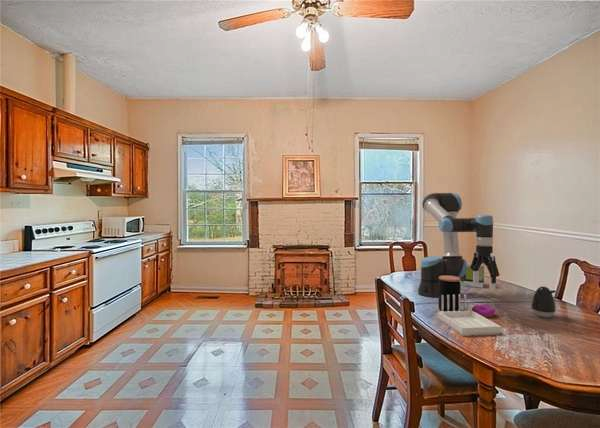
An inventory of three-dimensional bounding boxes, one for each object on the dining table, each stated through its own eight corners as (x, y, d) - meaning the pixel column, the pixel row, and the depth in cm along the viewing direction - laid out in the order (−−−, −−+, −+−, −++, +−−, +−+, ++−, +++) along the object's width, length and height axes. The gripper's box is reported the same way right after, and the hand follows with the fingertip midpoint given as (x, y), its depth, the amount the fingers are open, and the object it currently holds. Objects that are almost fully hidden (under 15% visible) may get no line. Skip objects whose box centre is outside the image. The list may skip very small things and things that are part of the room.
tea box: (484, 285, 237) (484, 264, 236) (482, 288, 228) (483, 266, 228) (460, 282, 245) (460, 262, 244) (458, 285, 236) (458, 264, 236)
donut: (468, 314, 177) (468, 306, 177) (478, 310, 183) (478, 302, 183) (489, 320, 169) (489, 311, 169) (498, 315, 175) (498, 307, 175)
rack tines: (437, 317, 173) (437, 294, 173) (467, 316, 175) (468, 293, 174) (439, 318, 171) (439, 295, 171) (470, 317, 173) (470, 294, 172)
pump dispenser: (549, 320, 167) (549, 290, 166) (526, 314, 176) (527, 285, 175) (560, 317, 172) (561, 287, 171) (538, 311, 181) (538, 283, 180)
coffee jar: (459, 308, 186) (459, 276, 186) (461, 314, 176) (461, 280, 176) (437, 306, 190) (438, 274, 189) (439, 312, 180) (439, 279, 179)
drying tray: (437, 318, 171) (437, 311, 171) (471, 317, 173) (471, 310, 173) (462, 335, 149) (462, 328, 149) (501, 334, 151) (501, 326, 151)
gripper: (463, 242, 187) (463, 280, 188) (493, 248, 162) (492, 292, 163) (476, 242, 188) (476, 280, 188) (508, 248, 163) (507, 292, 163)
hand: (483, 286), depth 176 cm, fingers open, 13 cm apart
